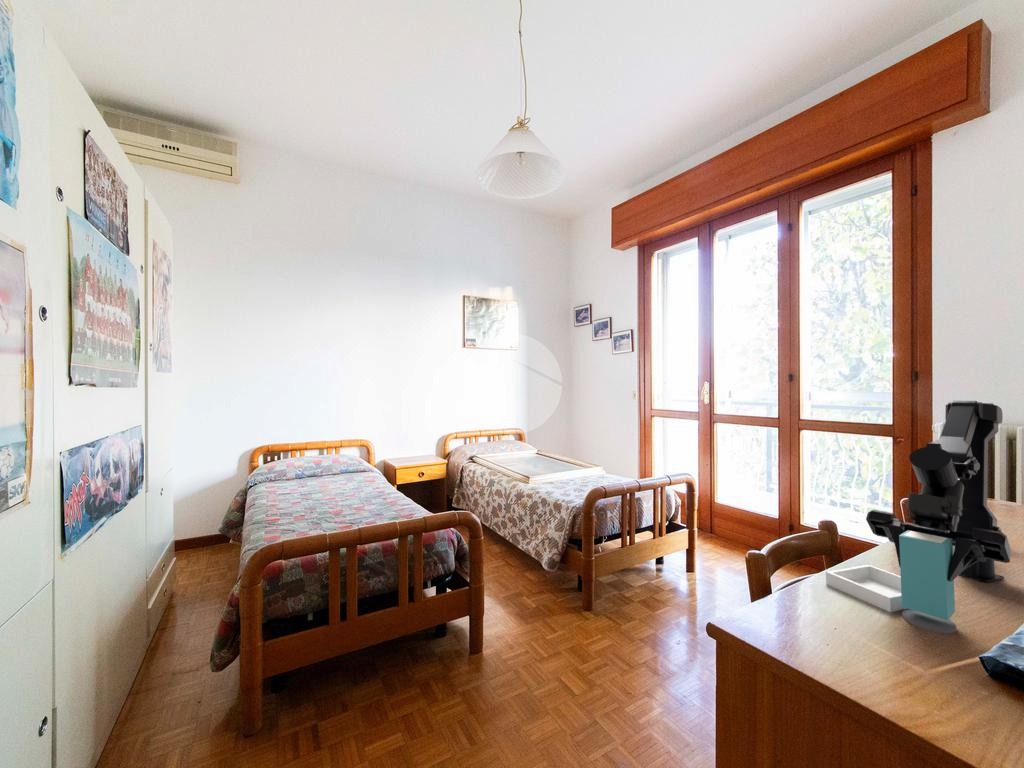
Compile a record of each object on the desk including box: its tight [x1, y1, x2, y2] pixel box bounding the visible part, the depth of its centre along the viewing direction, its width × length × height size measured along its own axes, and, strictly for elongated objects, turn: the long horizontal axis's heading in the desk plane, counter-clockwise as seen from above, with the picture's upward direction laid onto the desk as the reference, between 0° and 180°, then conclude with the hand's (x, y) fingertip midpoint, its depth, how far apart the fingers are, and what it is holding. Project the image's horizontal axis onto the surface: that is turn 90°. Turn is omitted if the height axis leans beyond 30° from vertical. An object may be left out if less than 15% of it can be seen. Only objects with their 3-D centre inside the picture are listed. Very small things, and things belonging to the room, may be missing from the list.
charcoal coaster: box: [901, 609, 957, 635], centre depth 78 cm, size 7×7×1 cm
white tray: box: [825, 564, 908, 613], centre depth 89 cm, size 13×13×3 cm
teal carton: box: [899, 530, 956, 621], centre depth 78 cm, size 5×6×13 cm
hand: (924, 573), depth 77 cm, fingers closed on teal carton, 6 cm apart
